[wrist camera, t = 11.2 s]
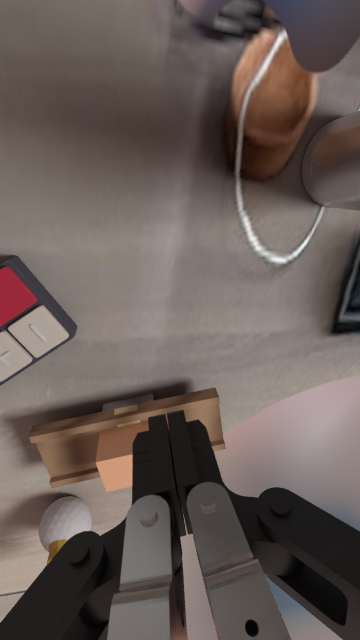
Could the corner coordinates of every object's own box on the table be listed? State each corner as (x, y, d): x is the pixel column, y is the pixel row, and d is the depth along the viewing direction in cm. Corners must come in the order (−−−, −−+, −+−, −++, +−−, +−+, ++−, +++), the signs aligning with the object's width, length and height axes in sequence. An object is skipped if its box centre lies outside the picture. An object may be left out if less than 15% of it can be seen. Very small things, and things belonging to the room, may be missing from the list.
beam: (210, 375, 45) (218, 396, 40) (216, 424, 48) (225, 448, 44) (39, 411, 43) (28, 437, 39) (59, 458, 47) (51, 488, 42)
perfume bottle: (75, 479, 49) (58, 564, 38) (111, 513, 53) (105, 598, 42) (35, 501, 50) (7, 590, 39) (73, 532, 54) (58, 622, 43)
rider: (153, 419, 41) (155, 448, 37) (160, 448, 43) (163, 478, 39) (99, 431, 41) (95, 462, 36) (109, 459, 43) (106, 492, 38)
